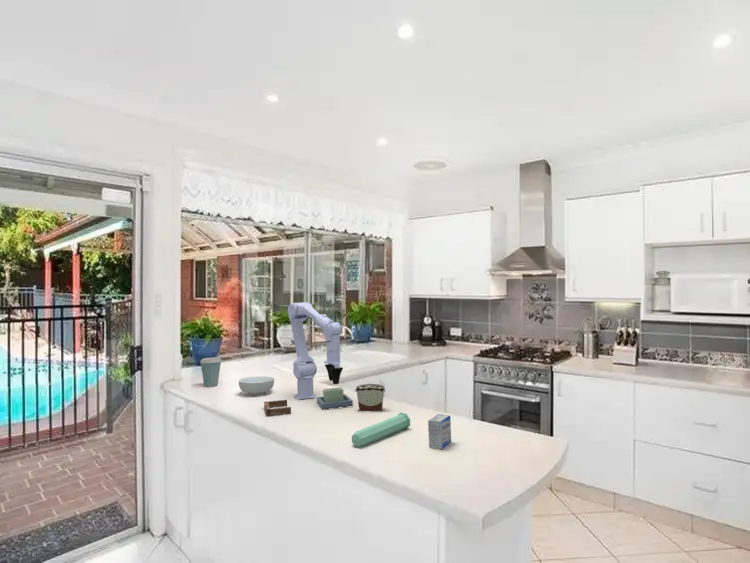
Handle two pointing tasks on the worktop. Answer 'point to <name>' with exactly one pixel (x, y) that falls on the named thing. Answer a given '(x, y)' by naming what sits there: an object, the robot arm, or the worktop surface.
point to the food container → (370, 397)
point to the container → (380, 430)
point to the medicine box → (439, 431)
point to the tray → (335, 403)
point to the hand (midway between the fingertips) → (333, 382)
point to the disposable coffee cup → (210, 371)
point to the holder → (276, 410)
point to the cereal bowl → (256, 384)
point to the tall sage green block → (333, 395)
